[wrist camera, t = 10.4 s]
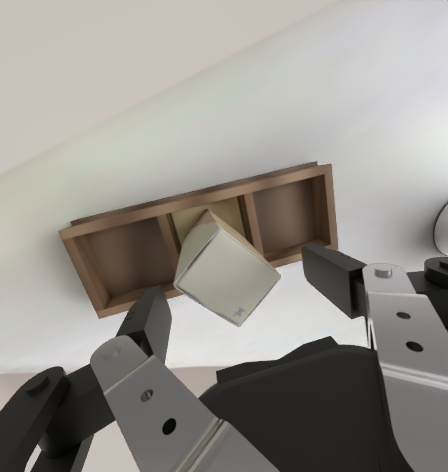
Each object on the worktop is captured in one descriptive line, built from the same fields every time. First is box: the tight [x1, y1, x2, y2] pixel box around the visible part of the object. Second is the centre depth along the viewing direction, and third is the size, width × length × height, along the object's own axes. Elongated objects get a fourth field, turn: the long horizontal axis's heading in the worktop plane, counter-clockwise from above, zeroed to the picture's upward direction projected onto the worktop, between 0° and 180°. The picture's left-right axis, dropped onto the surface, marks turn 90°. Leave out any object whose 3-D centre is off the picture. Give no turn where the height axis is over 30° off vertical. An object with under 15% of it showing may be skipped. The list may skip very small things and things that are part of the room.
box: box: [173, 209, 281, 327], centre depth 17 cm, size 5×4×11 cm
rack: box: [58, 161, 338, 319], centre depth 22 cm, size 26×10×4 cm, turn 103°
